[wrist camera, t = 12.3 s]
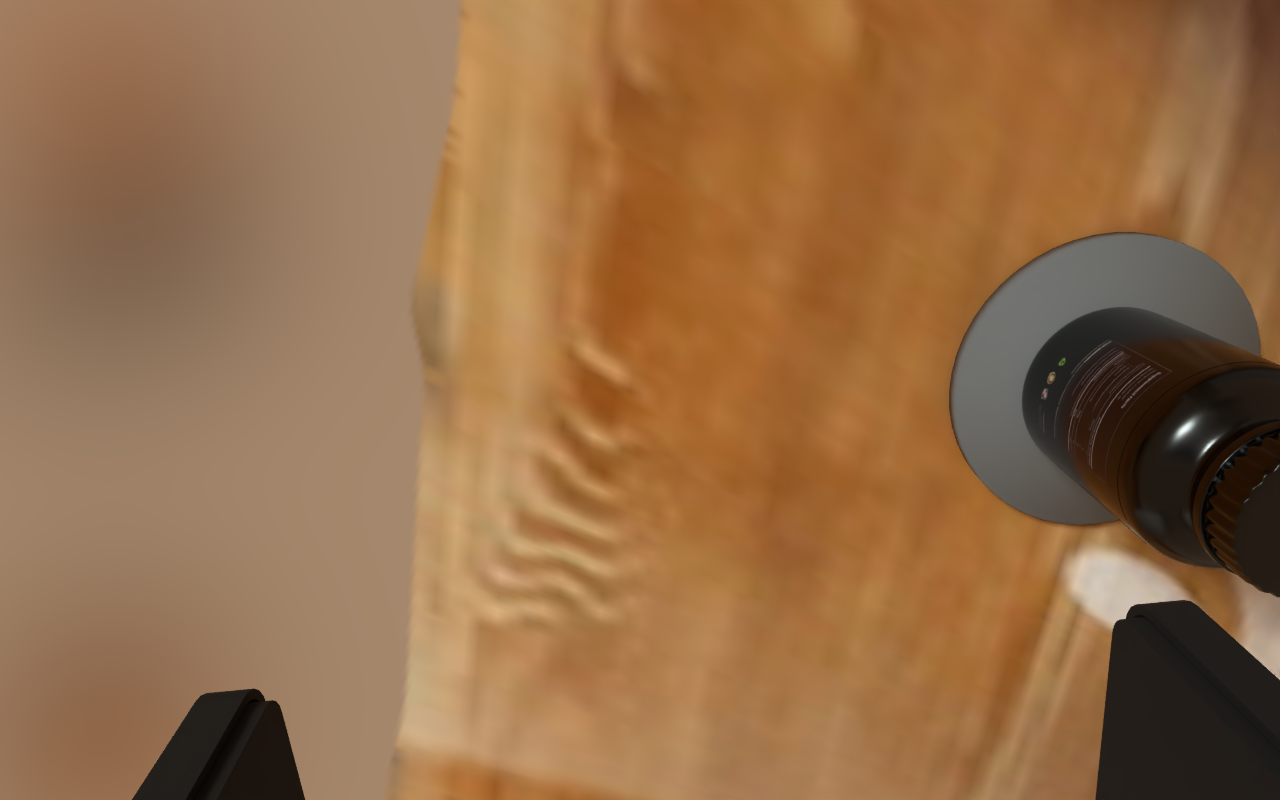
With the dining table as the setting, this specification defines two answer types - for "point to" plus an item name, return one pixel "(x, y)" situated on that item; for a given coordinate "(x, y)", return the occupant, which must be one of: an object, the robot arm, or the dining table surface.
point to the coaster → (1036, 311)
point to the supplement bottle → (1166, 435)
